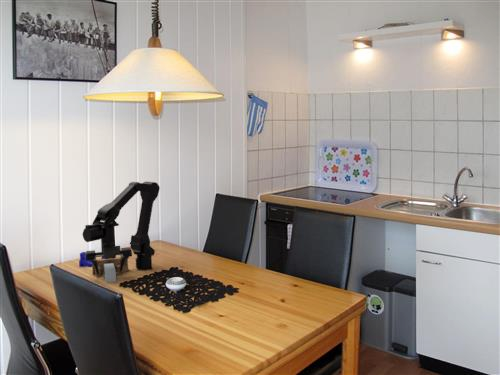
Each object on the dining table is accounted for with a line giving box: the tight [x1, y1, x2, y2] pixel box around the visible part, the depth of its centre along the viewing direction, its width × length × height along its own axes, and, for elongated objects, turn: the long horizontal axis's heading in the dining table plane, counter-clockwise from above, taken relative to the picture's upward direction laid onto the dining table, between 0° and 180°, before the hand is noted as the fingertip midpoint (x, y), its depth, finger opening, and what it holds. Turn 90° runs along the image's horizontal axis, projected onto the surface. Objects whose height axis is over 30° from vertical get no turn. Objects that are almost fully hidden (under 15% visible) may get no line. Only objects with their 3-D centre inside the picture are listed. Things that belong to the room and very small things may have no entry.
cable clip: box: [78, 251, 104, 268], centre depth 238 cm, size 12×4×6 cm, turn 88°
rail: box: [103, 263, 117, 284], centre depth 218 cm, size 4×12×5 cm, turn 19°
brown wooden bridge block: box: [91, 256, 129, 278], centre depth 225 cm, size 15×6×6 cm, turn 109°
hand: (109, 273), depth 218 cm, fingers open, 9 cm apart
